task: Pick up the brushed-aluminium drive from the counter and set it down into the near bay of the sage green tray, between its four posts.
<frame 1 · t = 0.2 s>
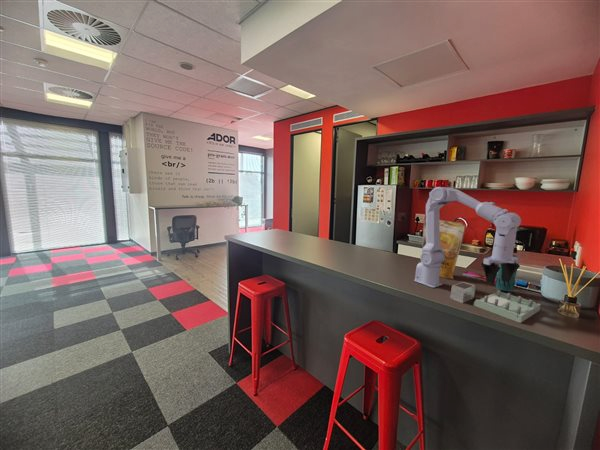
hand: (497, 282, 92), 10 cm above the table, tool pointing down, fingers open, 7 cm apart
drive: (462, 298, 100), on the table
smartphone: (481, 279, 125), on the table
pancake mix bag: (436, 274, 128), on the table
tray: (506, 307, 93), on the table
beverage bottle: (503, 292, 108), on the table
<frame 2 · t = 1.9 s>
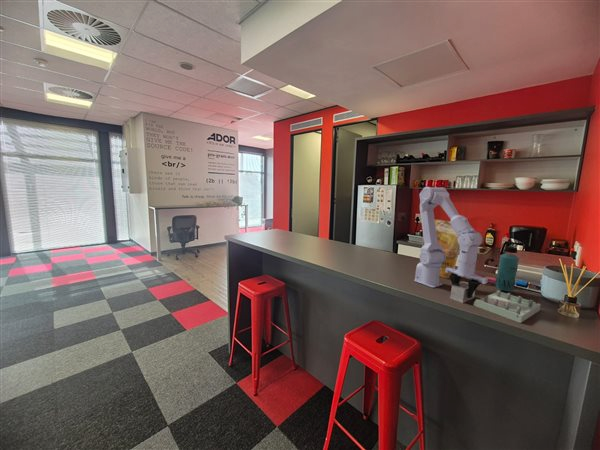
hand: (462, 294, 100), 1 cm above the table, tool pointing down, fingers closed on drive, 5 cm apart
drive: (462, 298, 100), on the table, touching gripper
everything else where it was.
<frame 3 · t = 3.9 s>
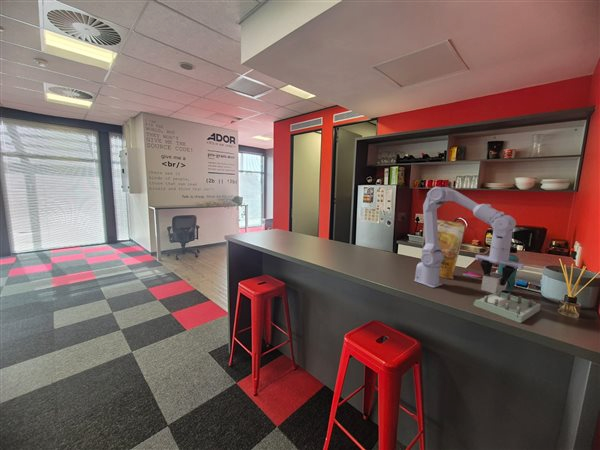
hand: (494, 282, 95), 9 cm above the table, tool pointing down, fingers closed on drive, 5 cm apart
drive: (493, 289, 95), point 6 cm above the table, touching gripper
everything else where it was.
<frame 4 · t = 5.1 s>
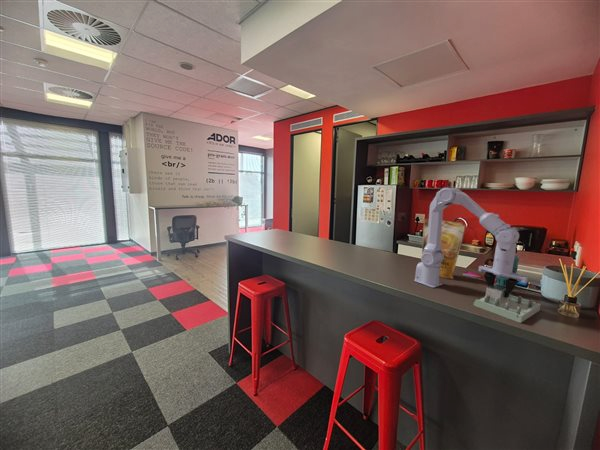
hand: (498, 294, 95), 4 cm above the table, tool pointing down, fingers closed on drive, 4 cm apart
drive: (496, 300, 95), point 2 cm above the table, touching gripper, tray
everything else where it was.
when the fingers open (4 cm above the table, at t = 5.4 s): drive stays where it is, resting on tray.
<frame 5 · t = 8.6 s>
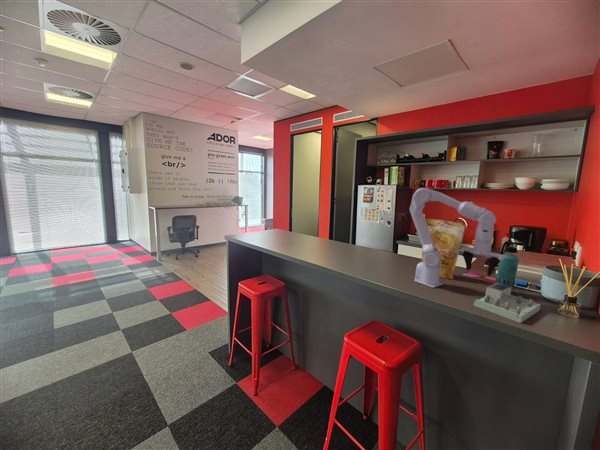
hand: (478, 272, 104), 9 cm above the table, tool pointing down, fingers open, 7 cm apart
drive: (496, 300, 95), point 2 cm above the table, touching tray
everything else where it was.
at the end: drive 0.3 cm from the target spot on the tray, point 1.6 cm above the tray's base; drive tilted 0°; the gripper is holding nothing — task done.
